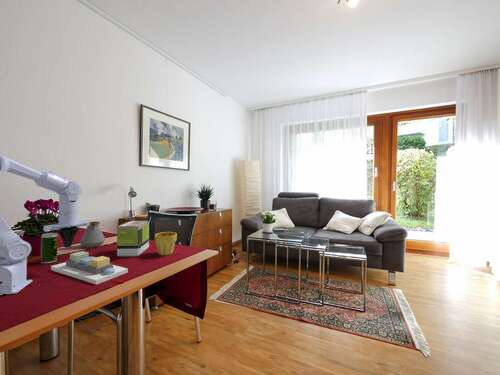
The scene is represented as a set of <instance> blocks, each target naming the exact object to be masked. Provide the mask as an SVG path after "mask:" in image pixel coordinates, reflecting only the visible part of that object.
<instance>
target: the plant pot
mask: <svg viewBox="0 0 500 375" xmlns="http://www.w3.org/2000/svg"><path fill="white" fill-rule="evenodd" d="M177 234H178V233H177V232H174V231H164V232H158V233H155V234H154V242H155V243H156V244H155V245H156V248H157V252H158V255H159V256H168V255H172V254H173V252H174V248H175V244H176V242H177V239H178V236H177Z"/></svg>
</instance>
